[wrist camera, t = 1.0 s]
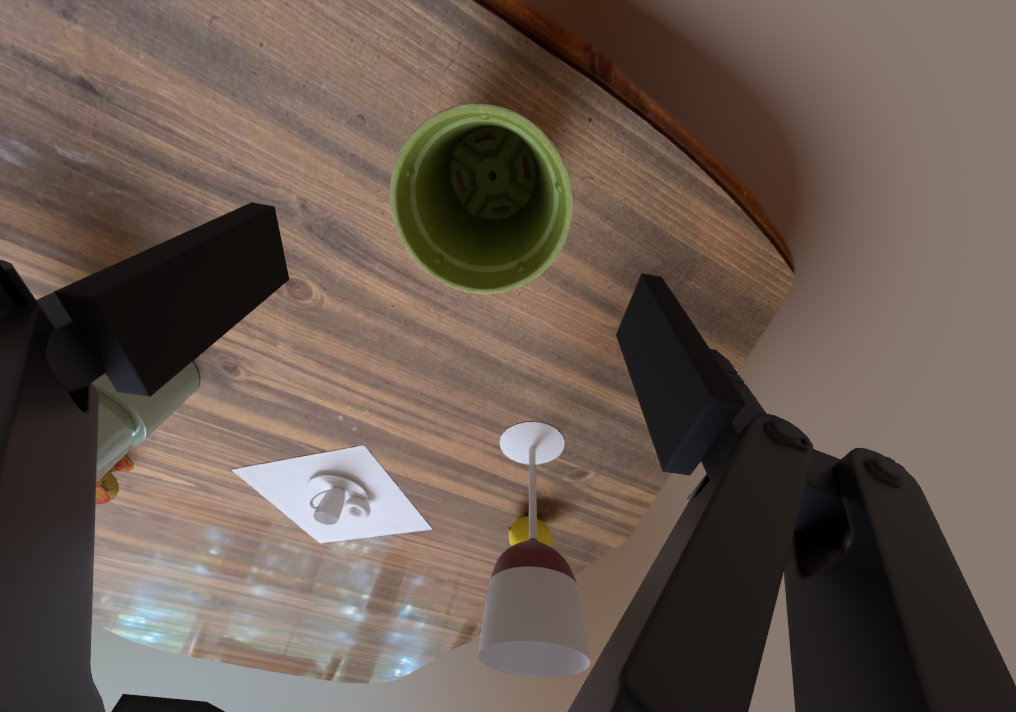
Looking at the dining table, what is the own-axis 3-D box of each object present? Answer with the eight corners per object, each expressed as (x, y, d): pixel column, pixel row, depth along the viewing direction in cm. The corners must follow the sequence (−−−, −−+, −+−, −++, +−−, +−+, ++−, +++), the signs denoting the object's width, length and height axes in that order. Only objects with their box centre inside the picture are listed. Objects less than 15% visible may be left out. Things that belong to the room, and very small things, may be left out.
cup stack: (67, 312, 35) (-200, 450, 22) (179, 329, 35) (-16, 474, 23) (117, 390, 41) (-69, 534, 28) (212, 403, 41) (72, 550, 29)
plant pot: (570, 226, 28) (583, 277, 21) (451, 253, 30) (428, 308, 23) (548, 75, 22) (557, 75, 16) (405, 117, 24) (355, 135, 17)
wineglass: (545, 409, 40) (557, 634, 24) (579, 455, 44) (608, 671, 28) (483, 432, 42) (455, 649, 26) (520, 474, 47) (516, 681, 31)
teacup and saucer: (382, 505, 52) (372, 533, 49) (333, 512, 54) (321, 540, 51) (348, 468, 47) (335, 497, 44) (296, 476, 49) (280, 505, 46)
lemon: (560, 520, 53) (563, 560, 49) (535, 534, 56) (535, 573, 51) (523, 501, 50) (523, 541, 46) (498, 517, 53) (496, 556, 49)
